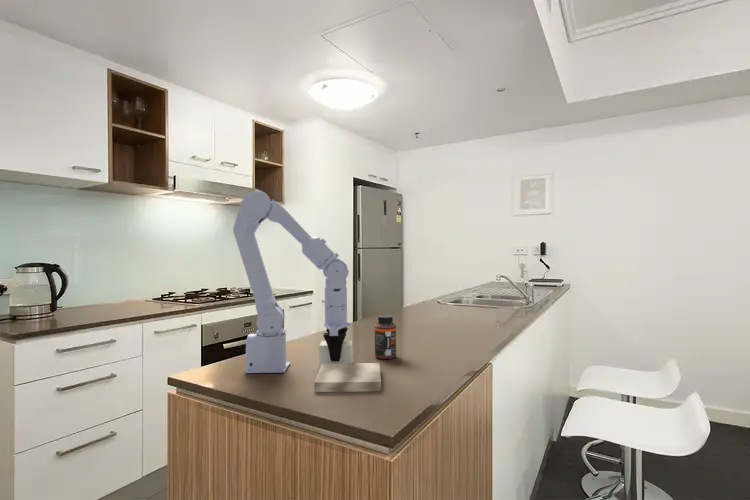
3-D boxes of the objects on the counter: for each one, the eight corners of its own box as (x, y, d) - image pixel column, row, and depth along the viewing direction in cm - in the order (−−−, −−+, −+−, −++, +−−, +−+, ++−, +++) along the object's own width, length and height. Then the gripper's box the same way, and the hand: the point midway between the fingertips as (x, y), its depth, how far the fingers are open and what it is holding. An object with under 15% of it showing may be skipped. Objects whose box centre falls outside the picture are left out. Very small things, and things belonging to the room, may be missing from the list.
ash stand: (314, 392, 86) (314, 382, 86) (322, 371, 100) (322, 363, 100) (381, 391, 86) (381, 381, 86) (379, 371, 100) (379, 363, 100)
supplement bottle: (394, 360, 110) (394, 318, 110) (372, 359, 111) (372, 317, 111) (397, 354, 116) (397, 314, 115) (377, 353, 117) (376, 314, 117)
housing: (319, 367, 103) (319, 343, 103) (321, 361, 108) (321, 339, 108) (351, 367, 104) (351, 343, 104) (352, 361, 109) (351, 338, 109)
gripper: (350, 309, 99) (350, 365, 99) (352, 301, 113) (352, 350, 113) (320, 309, 99) (321, 366, 99) (326, 301, 113) (327, 351, 113)
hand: (336, 358), depth 106 cm, fingers closed on housing, 5 cm apart
